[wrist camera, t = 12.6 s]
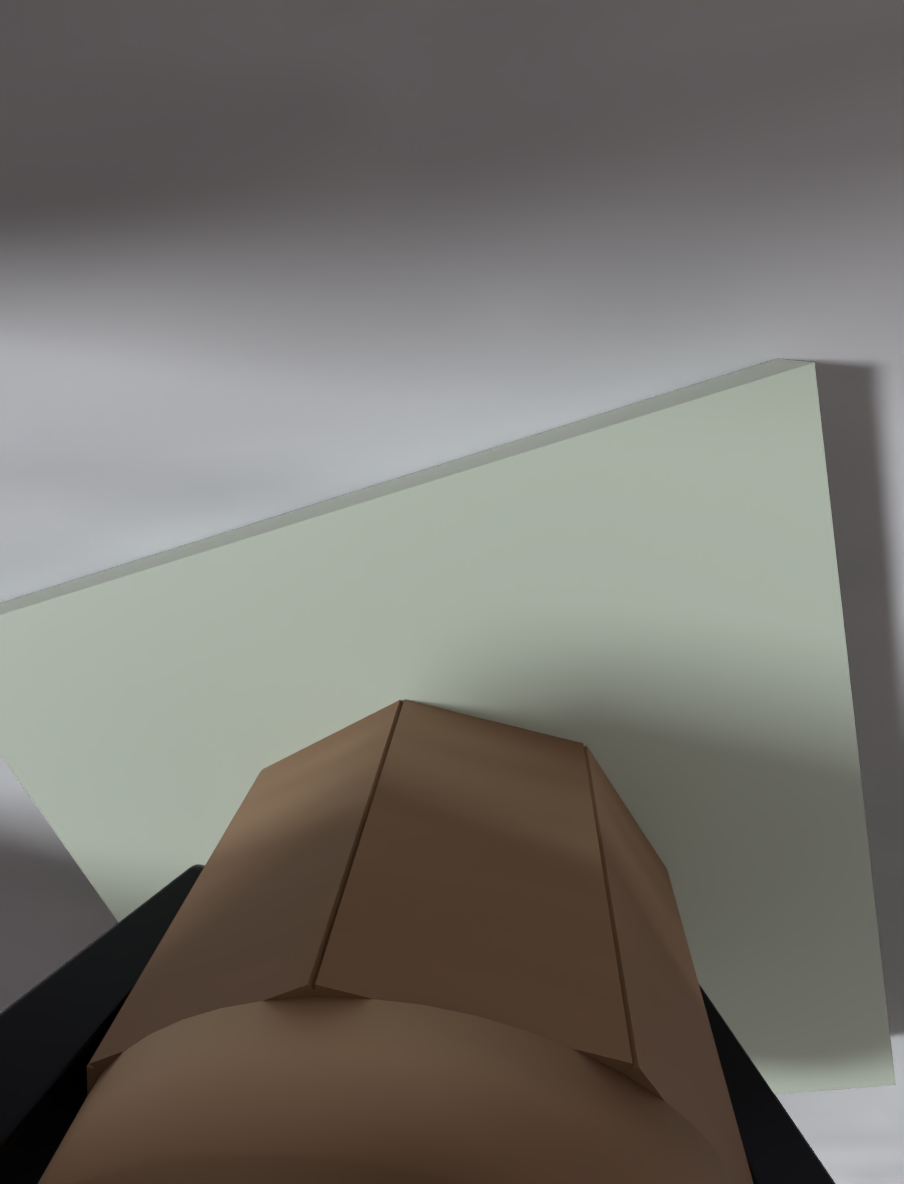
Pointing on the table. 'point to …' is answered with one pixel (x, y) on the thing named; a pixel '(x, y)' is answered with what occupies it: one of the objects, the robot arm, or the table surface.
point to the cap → (417, 984)
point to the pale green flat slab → (516, 680)
